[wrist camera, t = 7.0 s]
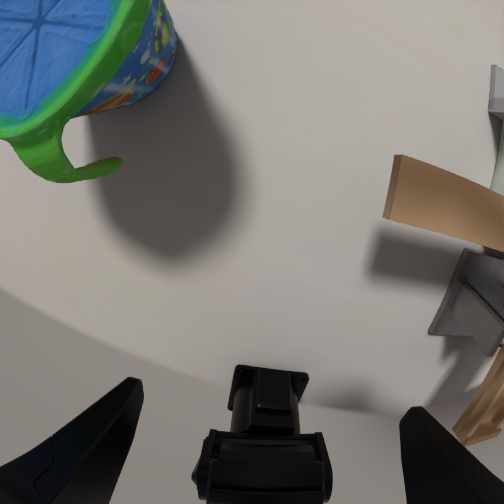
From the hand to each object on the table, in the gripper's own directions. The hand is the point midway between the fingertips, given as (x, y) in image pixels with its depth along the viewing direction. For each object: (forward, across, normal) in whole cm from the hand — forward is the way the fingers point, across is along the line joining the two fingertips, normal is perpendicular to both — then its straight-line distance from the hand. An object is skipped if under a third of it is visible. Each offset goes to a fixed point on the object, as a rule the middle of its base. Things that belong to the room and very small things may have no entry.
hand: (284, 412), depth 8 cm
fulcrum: (+13, -20, +1) cm, 24 cm away
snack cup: (+13, +12, -12) cm, 22 cm away
